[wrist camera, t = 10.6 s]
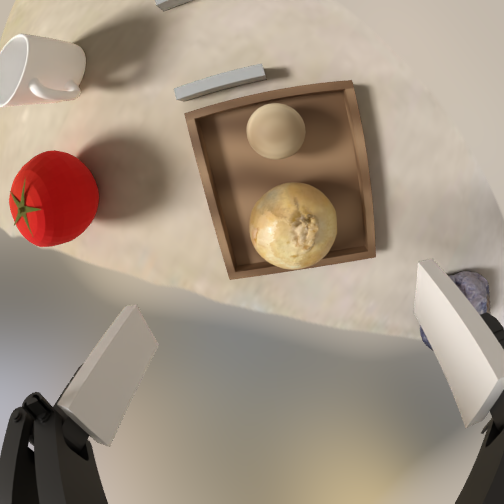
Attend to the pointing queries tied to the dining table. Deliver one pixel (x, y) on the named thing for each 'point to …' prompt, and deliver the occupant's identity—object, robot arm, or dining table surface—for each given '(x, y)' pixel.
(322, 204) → the onion
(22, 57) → the cup
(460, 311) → the robot arm
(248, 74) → the cradle
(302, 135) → the ball
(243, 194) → the tray
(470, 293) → the rock
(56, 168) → the tomato
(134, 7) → the dining table surface
